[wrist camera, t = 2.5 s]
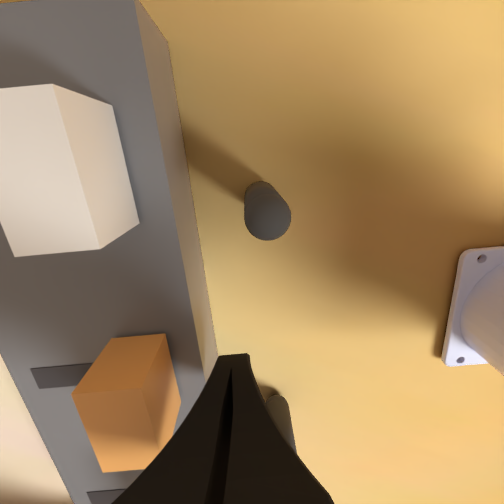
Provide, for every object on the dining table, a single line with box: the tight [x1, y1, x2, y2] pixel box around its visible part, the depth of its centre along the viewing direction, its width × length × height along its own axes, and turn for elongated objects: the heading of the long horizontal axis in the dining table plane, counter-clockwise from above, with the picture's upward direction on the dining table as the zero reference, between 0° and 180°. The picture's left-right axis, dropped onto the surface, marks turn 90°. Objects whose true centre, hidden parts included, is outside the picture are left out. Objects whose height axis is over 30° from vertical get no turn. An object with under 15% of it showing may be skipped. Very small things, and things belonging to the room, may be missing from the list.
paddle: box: [0, 84, 139, 257], centre depth 8 cm, size 2×4×3 cm, turn 5°
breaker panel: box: [0, 0, 218, 504], centre depth 15 cm, size 9×28×4 cm, turn 5°
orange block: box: [71, 333, 181, 473], centre depth 11 cm, size 2×4×3 cm, turn 5°
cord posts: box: [244, 181, 297, 454], centre depth 14 cm, size 2×16×6 cm, turn 5°
